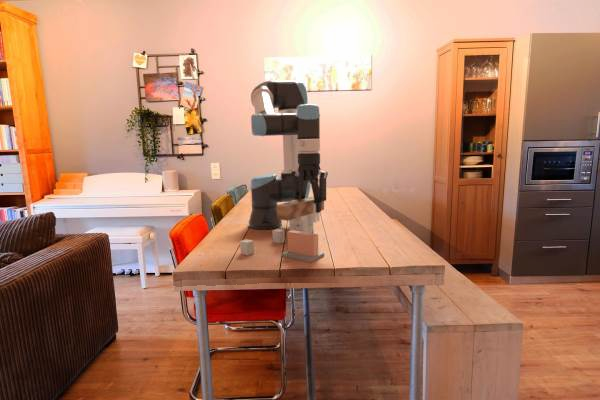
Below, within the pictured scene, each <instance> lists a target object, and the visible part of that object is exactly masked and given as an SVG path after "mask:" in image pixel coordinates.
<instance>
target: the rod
mask: <svg viewBox="0 0 600 400" xmlns="http://www.w3.org/2000/svg"><path fill="white" fill-rule="evenodd" d="M314 202H315V200H314V195H313V196H308V198H304V199H299V200H295V201H291V202H282V203H280V204H277V219H280V220H282V221H288V222H289V220H292V219H296V218H299V217H302V216H305V215H309V214H312V213H313V203H314ZM324 210H325V201H323V202H321V212H322V211H324Z"/></svg>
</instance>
